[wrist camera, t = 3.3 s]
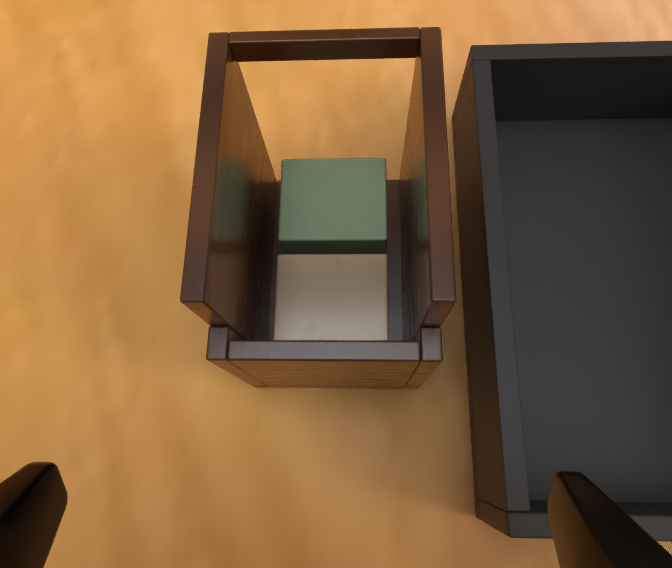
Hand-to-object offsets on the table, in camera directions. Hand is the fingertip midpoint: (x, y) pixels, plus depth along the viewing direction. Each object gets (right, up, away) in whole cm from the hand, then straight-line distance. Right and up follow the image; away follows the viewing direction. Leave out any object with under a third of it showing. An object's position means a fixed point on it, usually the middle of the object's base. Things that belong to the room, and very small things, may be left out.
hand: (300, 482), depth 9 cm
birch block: (+1, +2, +12) cm, 12 cm away
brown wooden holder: (+1, +4, +13) cm, 14 cm away
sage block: (+1, +6, +13) cm, 14 cm away
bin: (+12, +3, +12) cm, 17 cm away
